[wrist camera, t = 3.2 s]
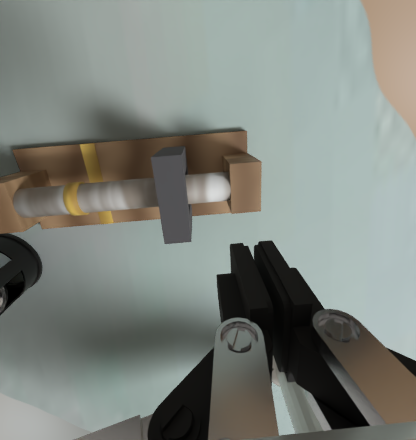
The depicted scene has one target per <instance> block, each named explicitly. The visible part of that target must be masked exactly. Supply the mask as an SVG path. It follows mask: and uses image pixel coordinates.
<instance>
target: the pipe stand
mask: <svg viewBox="0 0 416 440" xmlns="http://www.w3.org/2000/svg"><path fill="white" fill-rule="evenodd" d="M178 146H185V148H186V158H187V167H188V175H185V178H186V187H187V196H188V204H191V205H192V216H199V215H210V214H222V213H232V214H234V213H245V212H257V211H261V161H260V160H258V159H256V158H255V157H253V156H251V155H249V154H248V153H247V131H236V132H224V133H211V134H199V135H186V136H174V137H161V138H149V139H136V140H124V141H111V142H99V143H86V144H74V145H61V146H49V147H36V148H24V149H14V150H13V153H14V156H15V158H16V161H17V164H18V166H19V169H20V172H17V173H14V174H10V175H7V176H3V177H0V234H2V233H14V232H24V231H26V230H27V229H29V228H30V227H32V226H34V225H35V224H37V223H38V222H40V225H41V227H42V229H48V228H60V227H71V226H83V225H95V224H109V223H118V222H129V221H141V220H153V219H161V218H160V212H159V205H158V199H157V193H156V187H155V181H154V175H153V168H152V162H151V157H152V156H153V155H154V154H156V153H157V152H158V151H159V150H161V149H162V148H165V147H178Z"/></svg>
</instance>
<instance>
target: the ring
mask: <svg viewBox="0 0 416 440" xmlns="http://www.w3.org/2000/svg"><path fill="white" fill-rule="evenodd" d="M151 162H152V168H153V175H154V181H155V187H156V193H157V199H158V205H159V212H160V218H161V224H162V230H163V236H164V242H165V244H171V243H183V242H191V233H192V205H191V204H188V196H187V187H186V178H185V175H188V167H187V158H186V148H185V146H178V147H165V148H162V149H161V150H159V151H158V152H157V153H156V154H154V155H153V156H152V157H151Z"/></svg>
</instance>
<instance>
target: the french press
mask: <svg viewBox="0 0 416 440" xmlns="http://www.w3.org/2000/svg"><path fill="white" fill-rule="evenodd" d="M0 253H2V254H4V255H6V256H7V257H9V258H10V259H11V261H10V262H8V263H7V264H6V265H4V266H3V267H2V268H0V315H1V314H2V313H3V312H4V311H5V310H6V309H7V308H8V307H9V306H10V305H11V304H12V303H13V302H14V301H15V300H16V299H17V298H19V297H20V296H21V295H22V294H23V293H24V292H25V291H26V290H27V289H28V288H30V287H32V286H33V285H34V284H35V283H36V282H37V281H38V280H39V278H40V276H41V274H42V263H41V260H40V257H39V255H38V254H37V252H36V251H35V250H34V249H33V248H32V247H31V246H30V245H29V244H28V243H27V242H25V241H24V240H22V239H20V238H18V237H16V236H13V235H11V234H7V233H2V234H0ZM20 271H21V272H22V274H23V278H24V281H22V282H19V283H7V282H8V281H10V280H11V279H12V278H13V277H14V276H16V275H17V274H18V273H19V272H20Z"/></svg>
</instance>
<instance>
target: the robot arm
mask: <svg viewBox="0 0 416 440" xmlns="http://www.w3.org/2000/svg"><path fill="white" fill-rule="evenodd" d="M230 257H231V273H230V274H219V275H217V288H218V300H219V309H220V317H221V324H220V326H219V327H218V328H217V330H216V334H215V346H214V348H213V349H212V350H211V351H210V352H209V353H208V354H207V355H206V356H205V357H204V358H203V359H202V360H201V362H200V363H199V364H198V365H197V366H196V367H195V368H194V369H193V370H192V371H191V372H190V373H189V374H188V375H187V376H186V377H185V378H184V379H183V381H182V382H181V383H180V384H179V385H178V386H177V387H176V388H175V389H174V390H173V391H172V392H171V393H170V394H169V395H168V396H167V397H166V398H165V400H164V401H163V402H162V403H161V404H160V405H159V406H158V408H157V409H156V410H155V412H154V413H153V414H151V415H149V416H146V417H144V418H141V417H140V415H138V416H135V417H132V418H130V419H127V420H124V421H122V422H119V423H117V424H114V425H111V426H109V427H106V428H103V429H101V430H98V431H96V432H93V433H90V434H88V435H85V436H82V437H80V438H77V439H74V440H416V361H415V360H412V359H410V358H408V357H406V356H404V355H401V354H399V353H397V352H395V351H393V350H390V349H388V348H386V347H385V346H384V345H383V344H382V343H381V342H380V341H379V340H378V339H377V338H376V337H374V336H373V335H372V334H371V333H370V332H369V331H368V330H367V329H366V328H365V327H364V326H363V325H362V324H361V323H360V322H359V321H358V320H357V319H355V318H354V317H353V316H351V315H349V314H347V313H345V312H342V311H339V310H334V309H324V308H323V306H322V305H321V303H320V302H319V300H318V299H317V297H316V296H315V295H314V293H313V292H312V290H311V289H310V287H309V286H308V284H307V283H306V282H305V280H304V279H303V277H302V276H301V274H300V273H299V271H298V270H297V269H296V268H289V266H288V264H287V263H286V261H285V260H284V258H283V257H282V255H281V254H280V252H279V251H278V249H277V248H276V246H275V244H274V243H273V241H260V242H259V243H258V245H255V246H254V259H253V257H252V254H251V252H250V250H249V247H248V246H244V245H243V243H237V244H230ZM272 382H273V383H274V384H276V385H278V386H280V387H281V390H282V394H283V397H284V400H285V403H286V406H287V409H288V412H289V415H290V418H291V422H292V425H293V428H294V431H295V434H290V435H281V436H279V433H278V426H277V420H276V413H275V407H274V401H273V394H272V388H271V386H272Z"/></svg>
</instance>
